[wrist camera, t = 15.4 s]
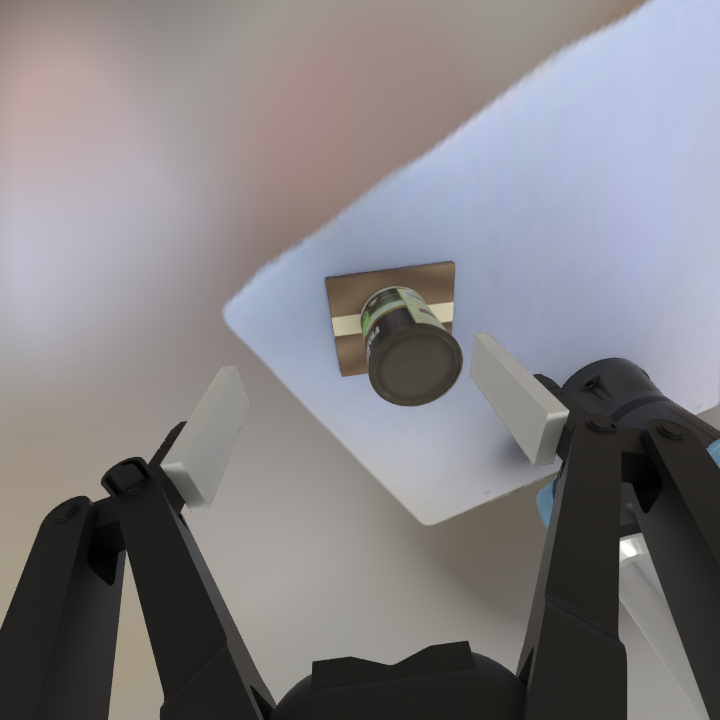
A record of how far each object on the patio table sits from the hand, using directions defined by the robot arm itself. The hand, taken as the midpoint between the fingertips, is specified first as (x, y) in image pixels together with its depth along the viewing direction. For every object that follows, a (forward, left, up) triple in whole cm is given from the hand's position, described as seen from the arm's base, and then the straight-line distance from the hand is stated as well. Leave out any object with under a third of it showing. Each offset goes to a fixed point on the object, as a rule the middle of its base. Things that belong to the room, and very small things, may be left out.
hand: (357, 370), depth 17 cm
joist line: (-9, -6, -27) cm, 29 cm away
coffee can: (-9, -6, -27) cm, 29 cm away
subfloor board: (-10, -6, -29) cm, 31 cm away
